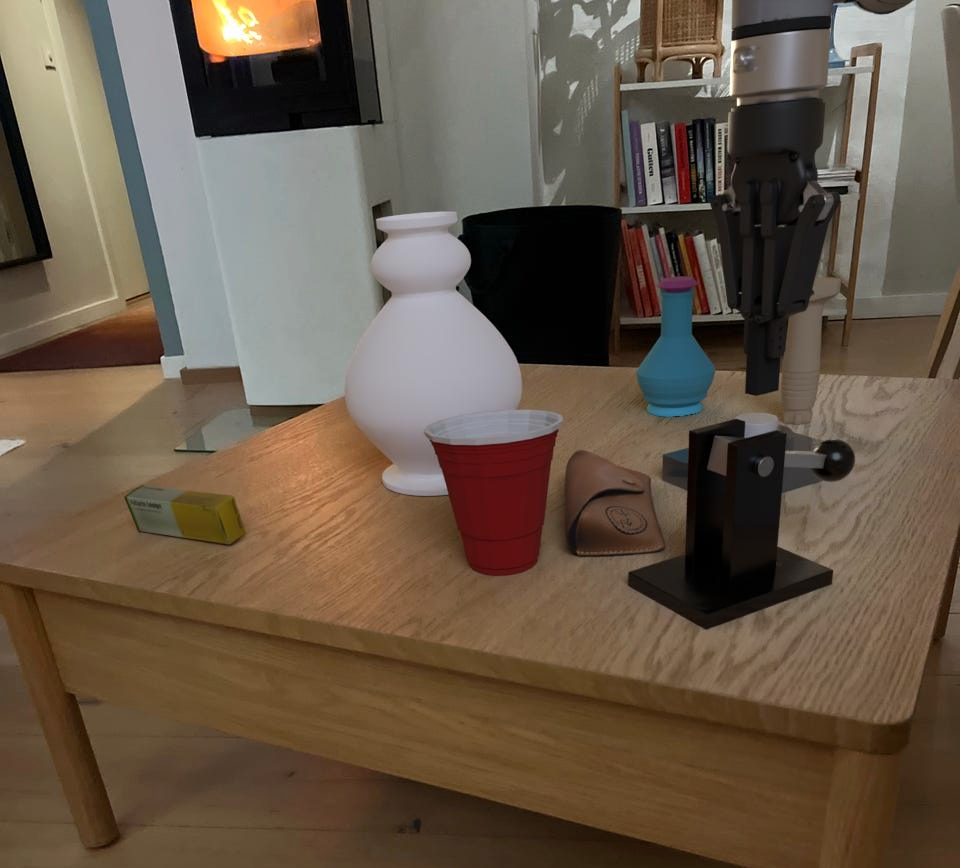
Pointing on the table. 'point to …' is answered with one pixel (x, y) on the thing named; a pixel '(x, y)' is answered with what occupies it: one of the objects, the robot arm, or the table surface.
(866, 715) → the table surface
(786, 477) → the block
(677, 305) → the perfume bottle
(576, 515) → the sunglasses case
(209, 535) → the medication box
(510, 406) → the decorative vase
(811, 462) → the lever with black ball
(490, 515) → the plastic cup
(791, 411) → the handle
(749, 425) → the flush button
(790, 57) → the robot arm
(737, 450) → the lever bracket
